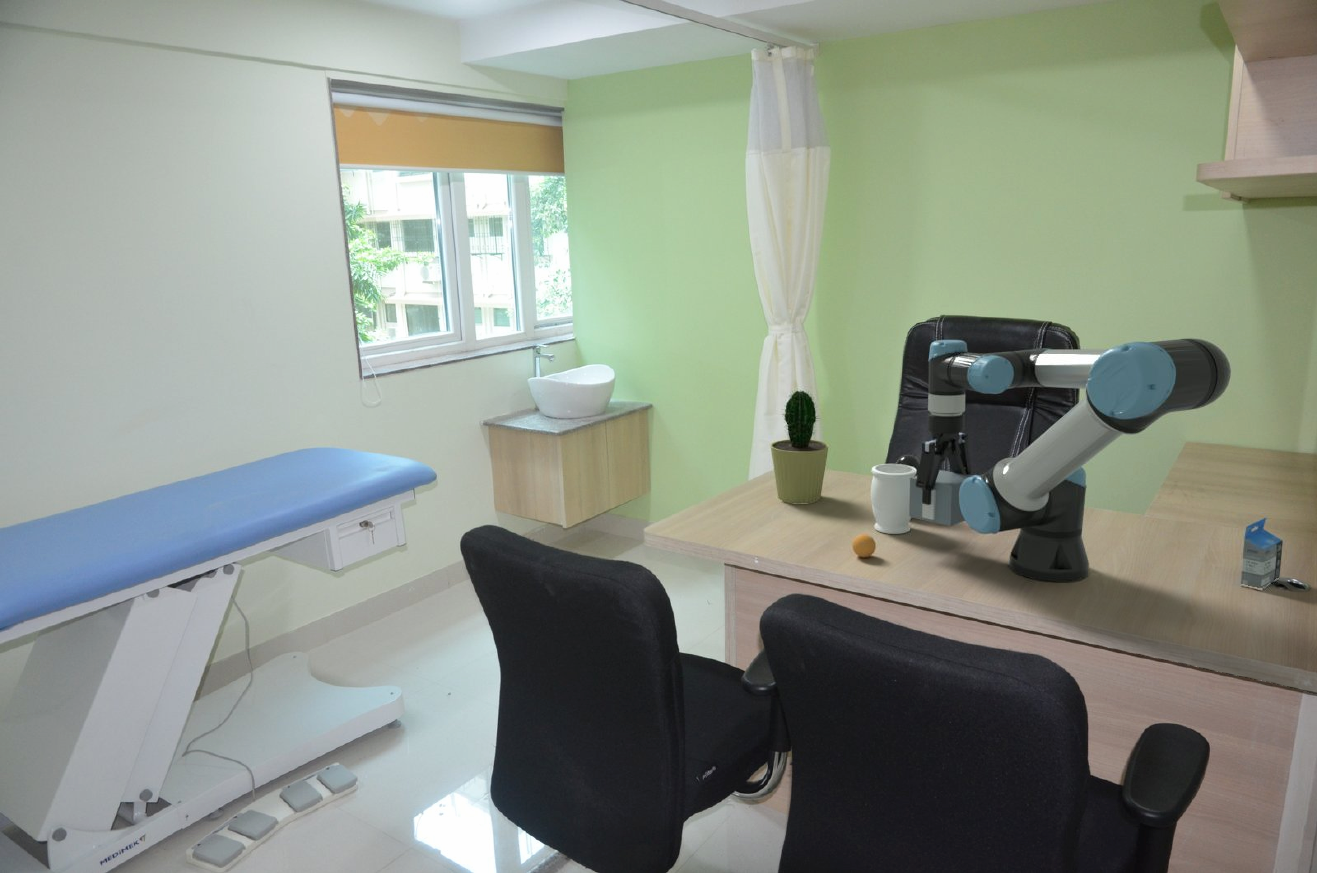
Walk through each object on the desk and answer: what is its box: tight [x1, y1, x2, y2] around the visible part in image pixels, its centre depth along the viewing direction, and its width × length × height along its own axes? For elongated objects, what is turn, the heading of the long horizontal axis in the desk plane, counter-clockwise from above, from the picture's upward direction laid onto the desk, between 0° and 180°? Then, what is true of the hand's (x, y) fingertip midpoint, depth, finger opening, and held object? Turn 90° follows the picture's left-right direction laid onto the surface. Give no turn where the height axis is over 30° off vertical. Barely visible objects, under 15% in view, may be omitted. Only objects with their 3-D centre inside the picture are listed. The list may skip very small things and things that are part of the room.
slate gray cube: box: [909, 469, 973, 527], centre depth 193 cm, size 10×10×9 cm
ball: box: [851, 534, 877, 558], centre depth 194 cm, size 5×5×5 cm
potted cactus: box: [769, 390, 830, 504], centre depth 236 cm, size 15×15×30 cm
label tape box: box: [1240, 517, 1284, 588], centre depth 173 cm, size 9×4×12 cm, turn 126°
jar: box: [870, 463, 916, 535], centre depth 211 cm, size 11×10×15 cm
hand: (943, 513), depth 193 cm, fingers closed on slate gray cube, 10 cm apart
